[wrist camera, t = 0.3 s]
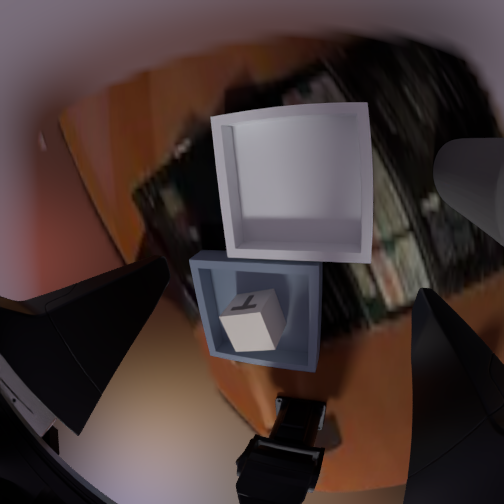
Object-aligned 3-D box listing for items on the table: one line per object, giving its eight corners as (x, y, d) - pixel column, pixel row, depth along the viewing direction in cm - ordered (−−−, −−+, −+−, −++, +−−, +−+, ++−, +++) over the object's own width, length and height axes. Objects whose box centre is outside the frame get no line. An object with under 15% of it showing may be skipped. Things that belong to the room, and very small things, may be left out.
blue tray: (319, 356, 27) (315, 372, 24) (220, 342, 31) (210, 355, 29) (322, 254, 23) (318, 266, 20) (202, 249, 27) (189, 259, 24)
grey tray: (368, 251, 21) (370, 263, 19) (239, 247, 25) (227, 257, 23) (365, 107, 17) (367, 102, 15) (224, 119, 21) (210, 117, 19)
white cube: (286, 323, 26) (275, 349, 22) (250, 327, 28) (235, 351, 24) (273, 287, 25) (260, 311, 21) (236, 293, 27) (218, 316, 23)
